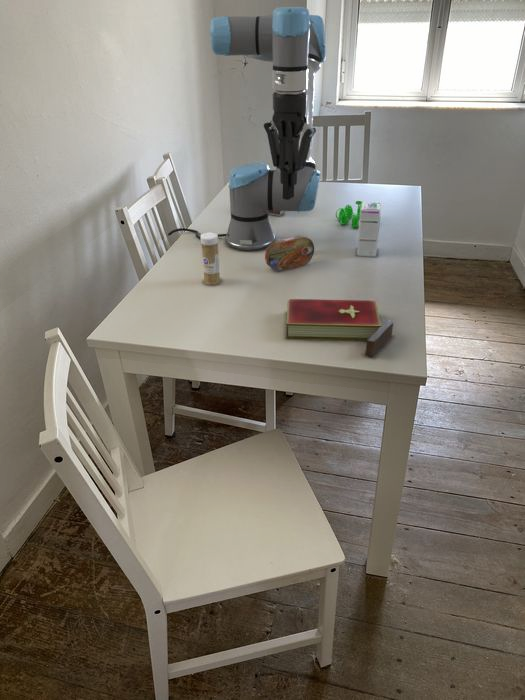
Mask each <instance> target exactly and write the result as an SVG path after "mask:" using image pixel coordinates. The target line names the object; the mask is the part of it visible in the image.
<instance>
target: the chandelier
mask: <svg viewBox="0 0 525 700" xmlns="http://www.w3.org/2000/svg"><path fill="white" fill-rule="evenodd" d="M362 203H363V201H362V200H356V201H355V205H358V206H357V210H356V213H354V210H353V207H352V206H351V204H346V205H345V207H344V208H343V207H340V208H338V209H337V210H336V212H335V217H336V219H337V220H338V222H339V224H340V225H342V226H346V225H348V224H349V222H350V220H351V224H350V225H351V227H352V228H353V229H355V228H357V227H359V219H360V209H361V205H362ZM338 211H339V212H338Z"/></svg>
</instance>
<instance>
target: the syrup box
mask: <svg viewBox="0 0 525 700" xmlns="http://www.w3.org/2000/svg"><path fill="white" fill-rule="evenodd" d="M381 209H382V203H379V202H371V201H370V202H362V205H361V209H360V218H359V221H358V235H357V248H356V249H357V250H356V256H359V257H371V258H372V257H373V258H376V257H377V251H378V243H379V234H380V224H381Z"/></svg>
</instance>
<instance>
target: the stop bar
mask: <svg viewBox="0 0 525 700" xmlns="http://www.w3.org/2000/svg"><path fill="white" fill-rule="evenodd" d="M393 328H394V321H391V320H388V319H387V320H386V321H384V323H383V324H381V327H379V329H378V330H377V331H376V332H375V333H374V334H373V335H372V336H371V337H370V338H369V339H368V340H367V341H366V347H365V354H364V355H365V356H366V357H369V358H373V357H374V356H375V355H376V354H377V353H378V352H379V351H380V350H381V349H382V348H383V346H385V344H386V343H387V342H388V341H389V340H390V339H391V338H392V336H393Z"/></svg>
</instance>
